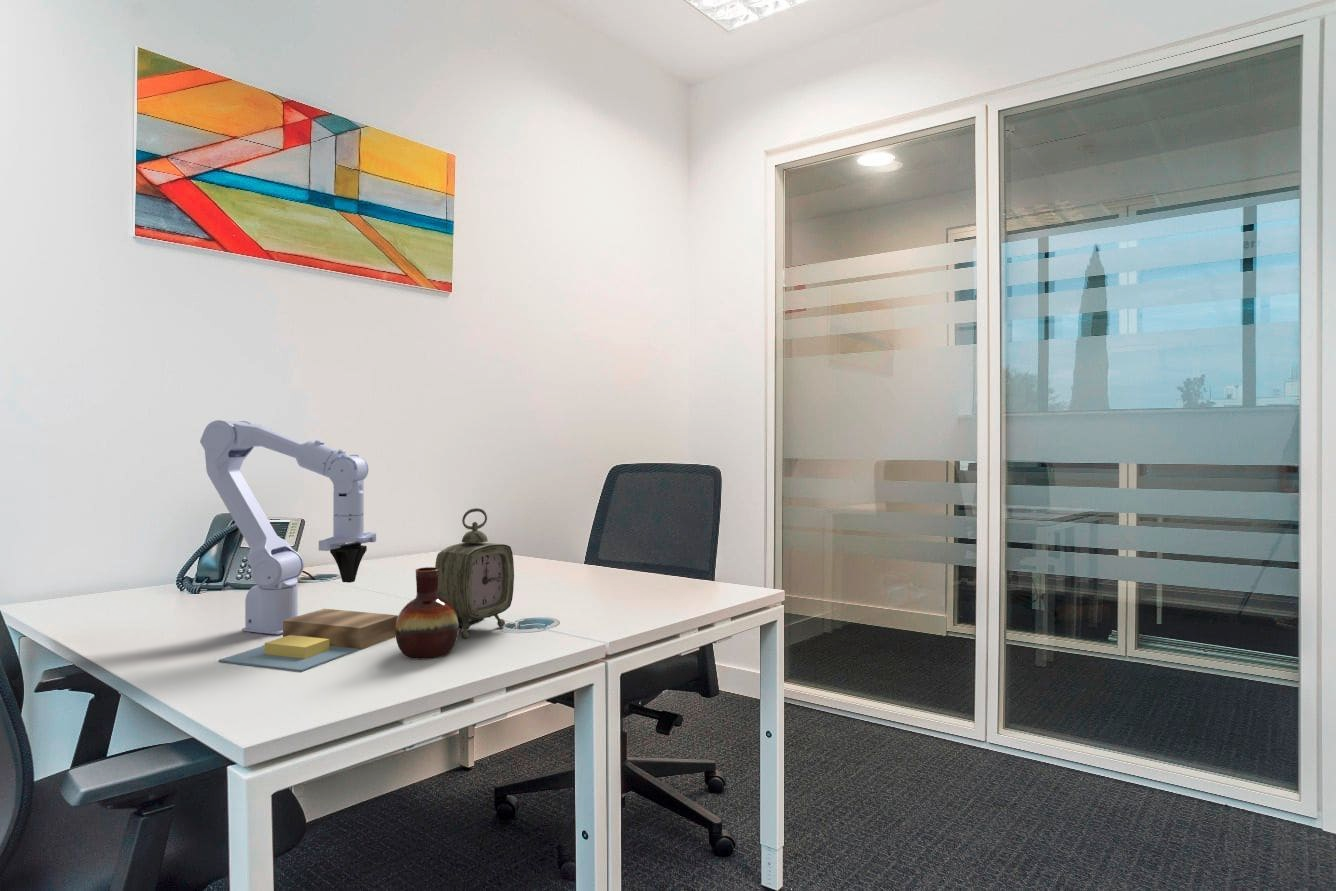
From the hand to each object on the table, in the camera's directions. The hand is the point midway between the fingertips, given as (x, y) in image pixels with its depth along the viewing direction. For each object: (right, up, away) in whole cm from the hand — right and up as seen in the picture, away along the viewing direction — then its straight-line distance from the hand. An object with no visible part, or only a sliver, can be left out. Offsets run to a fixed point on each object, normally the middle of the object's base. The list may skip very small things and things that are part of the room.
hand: (348, 581), depth 160 cm
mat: (-3, -10, -18) cm, 21 cm away
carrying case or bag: (+19, -11, +7) cm, 22 cm away
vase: (+21, -11, -16) cm, 28 cm away
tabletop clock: (+25, -10, 0) cm, 27 cm away
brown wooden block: (+1, -10, -6) cm, 12 cm away
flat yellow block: (-2, -8, -17) cm, 19 cm away
